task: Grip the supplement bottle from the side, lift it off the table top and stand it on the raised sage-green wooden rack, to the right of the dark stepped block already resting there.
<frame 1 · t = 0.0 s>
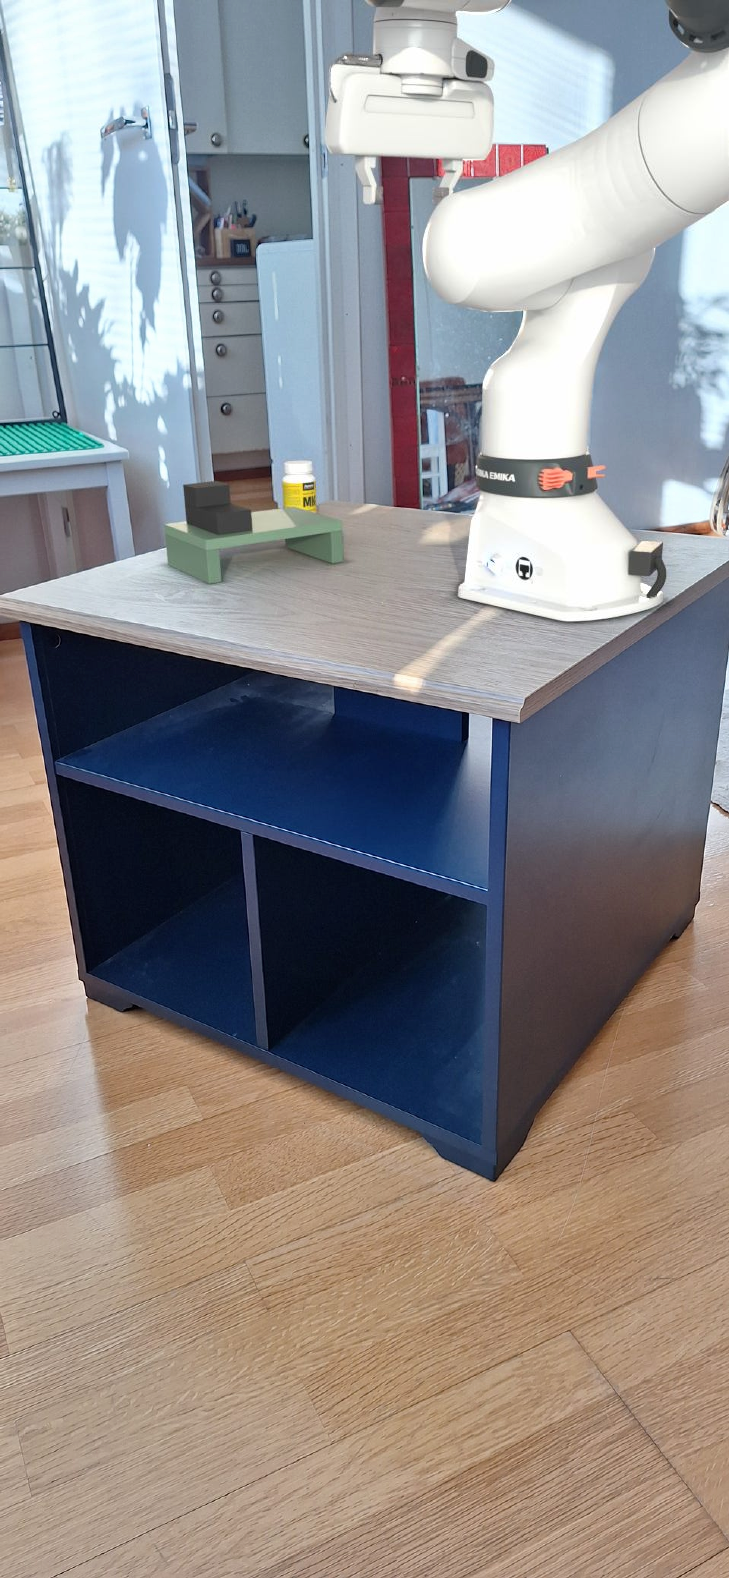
hand: (408, 205, 125), 39 cm above the table, tool pointing down, fingers open, 8 cm apart
supplement bottle: (300, 524, 159), on the table
toy robot: (573, 541, 144), on the table
dark stepped block: (218, 527, 132), point 5 cm above the table, touching rack
rack: (255, 563, 136), on the table
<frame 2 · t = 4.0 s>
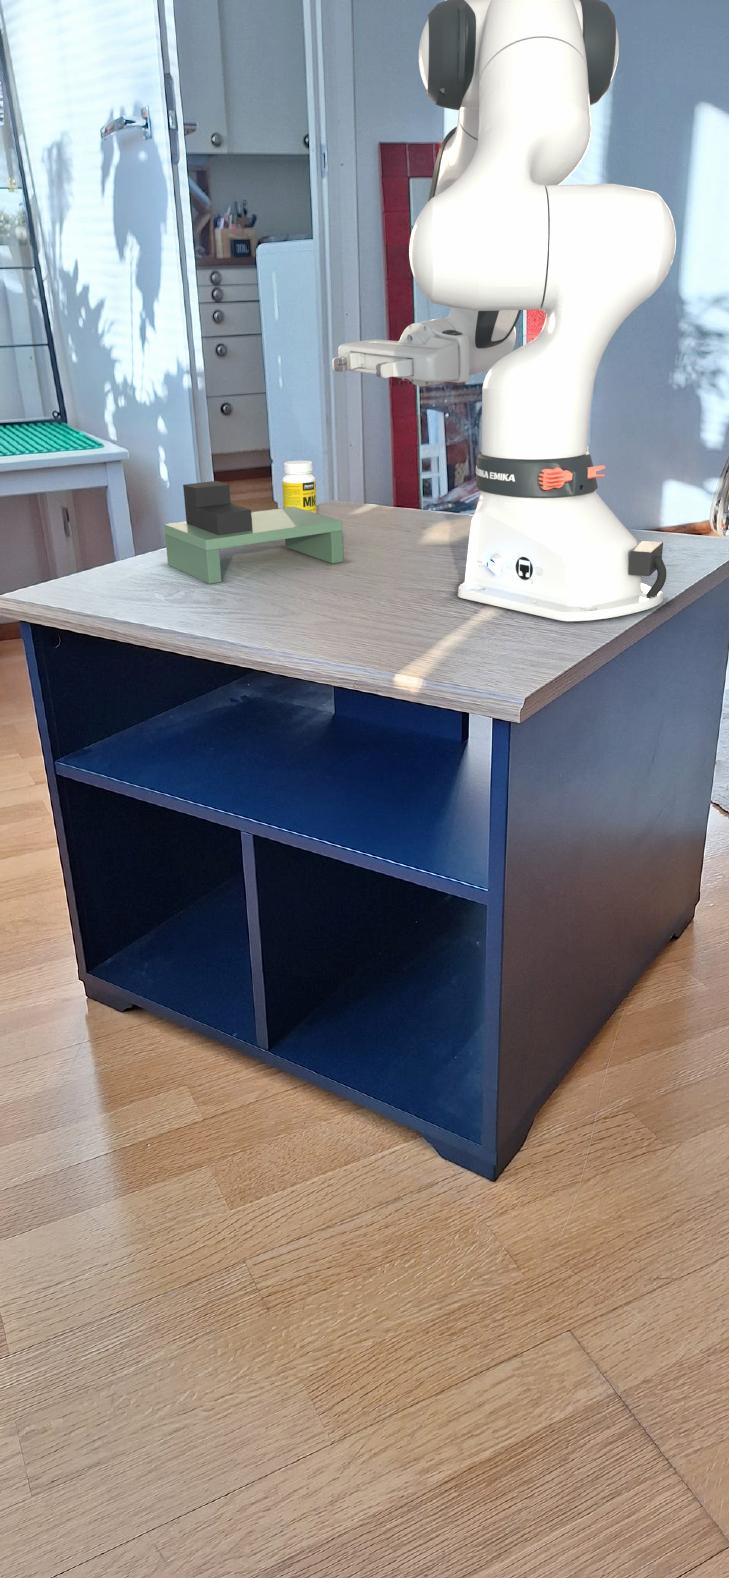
hand: (356, 368, 157), 20 cm above the table, tool horizontal, fingers open, 8 cm apart
nothing on the table moved.
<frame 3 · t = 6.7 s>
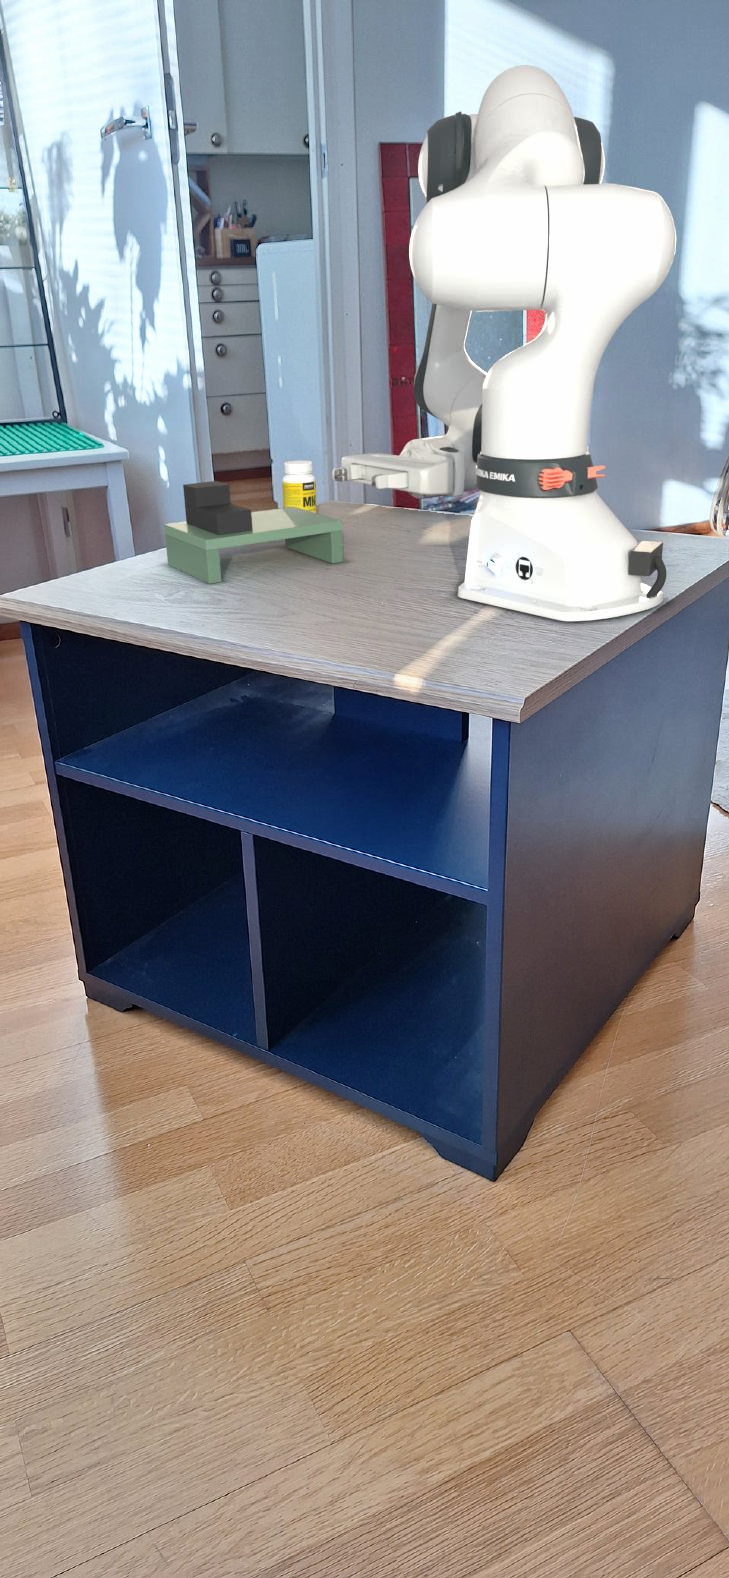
hand: (354, 478, 163), 5 cm above the table, tool horizontal, fingers open, 8 cm apart
nothing on the table moved.
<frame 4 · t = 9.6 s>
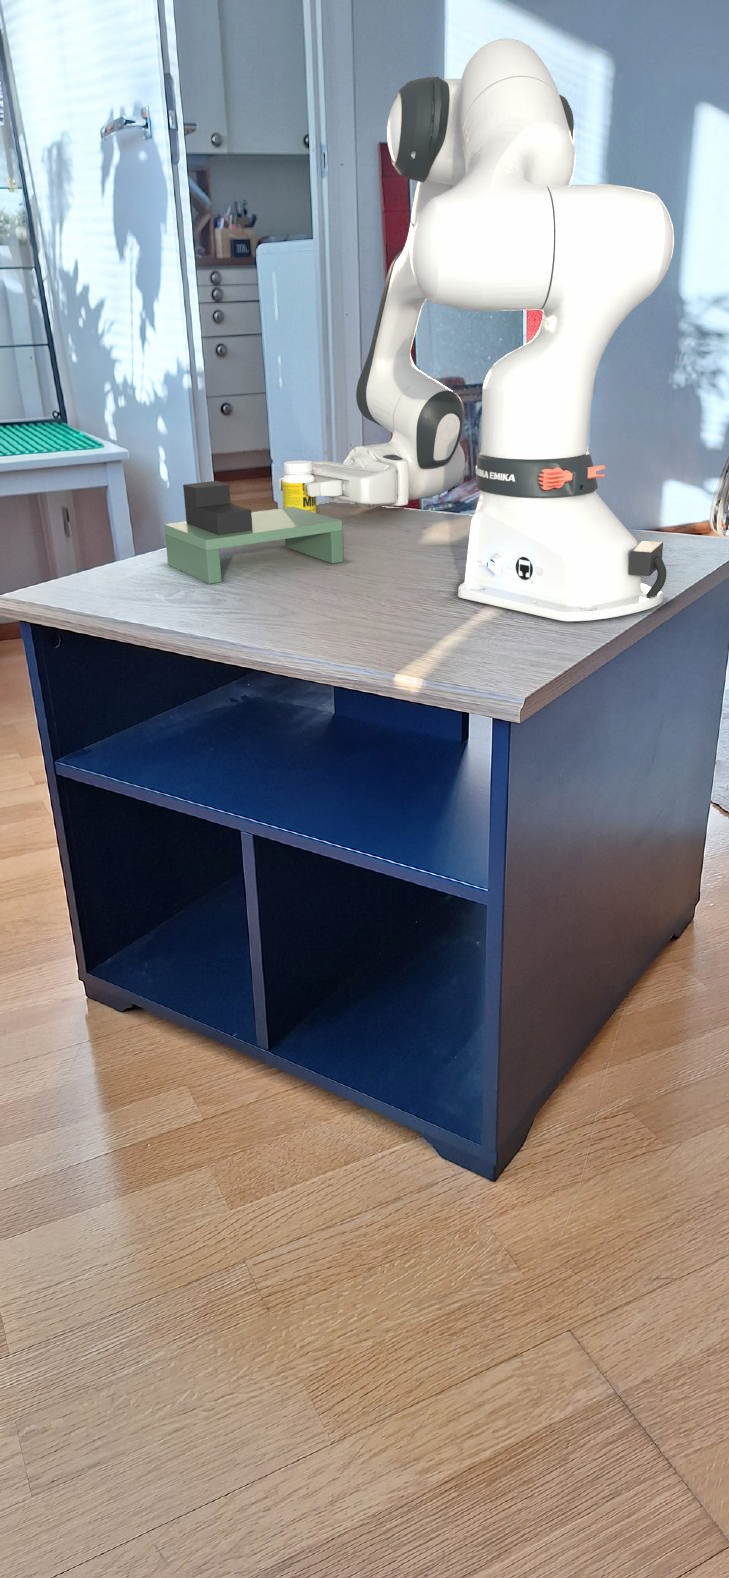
hand: (293, 487, 157), 5 cm above the table, tool horizontal, fingers closed on supplement bottle, 5 cm apart
supplement bottle: (300, 524, 159), on the table, touching gripper
everything else where it was.
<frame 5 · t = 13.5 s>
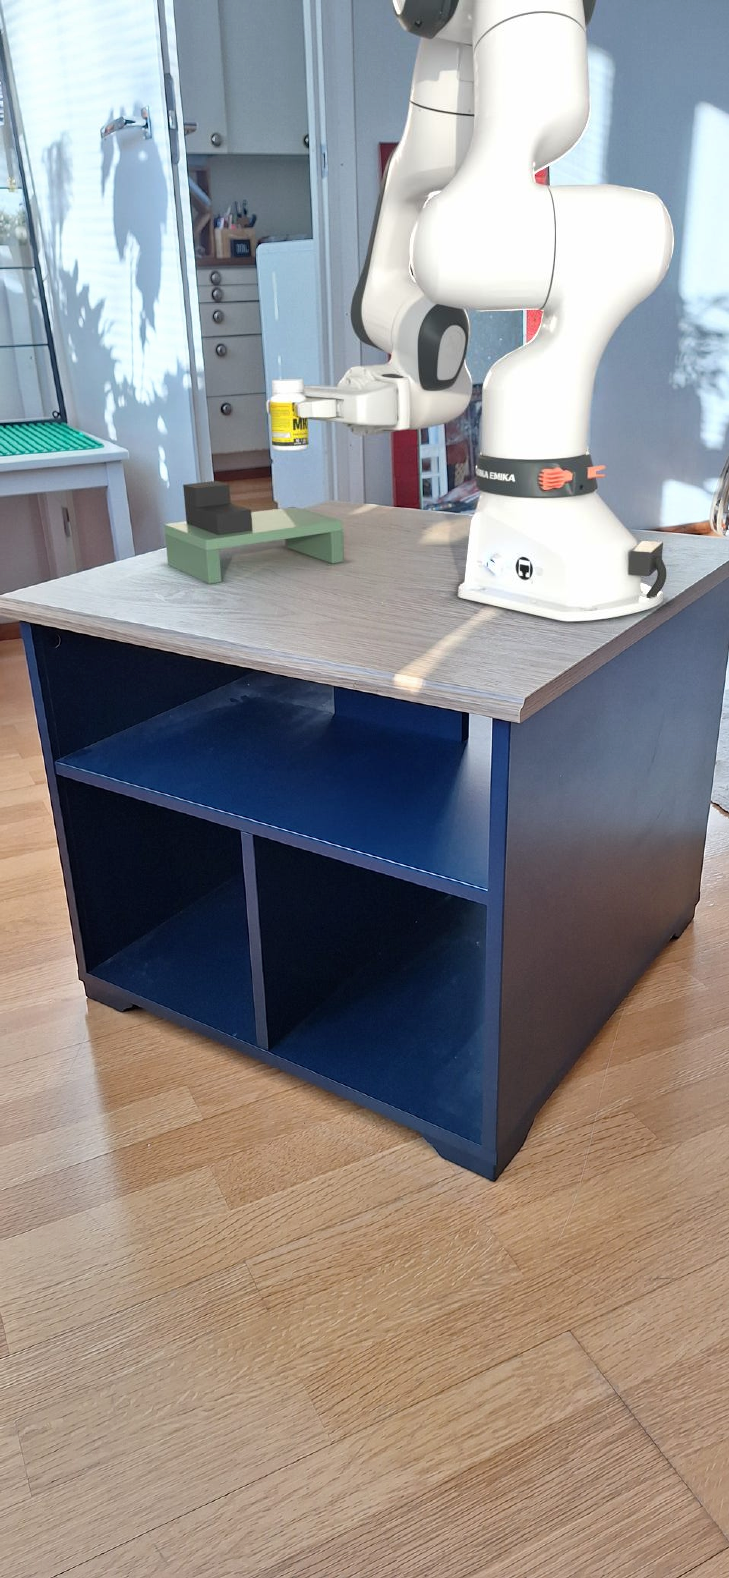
hand: (282, 409, 141), 17 cm above the table, tool horizontal, fingers closed on supplement bottle, 5 cm apart
supplement bottle: (290, 450, 144), point 11 cm above the table, touching gripper
everything else where it was.
when the fingers open (10 cm above the table, at t = 17.4 s): supplement bottle stays where it is, resting on rack.
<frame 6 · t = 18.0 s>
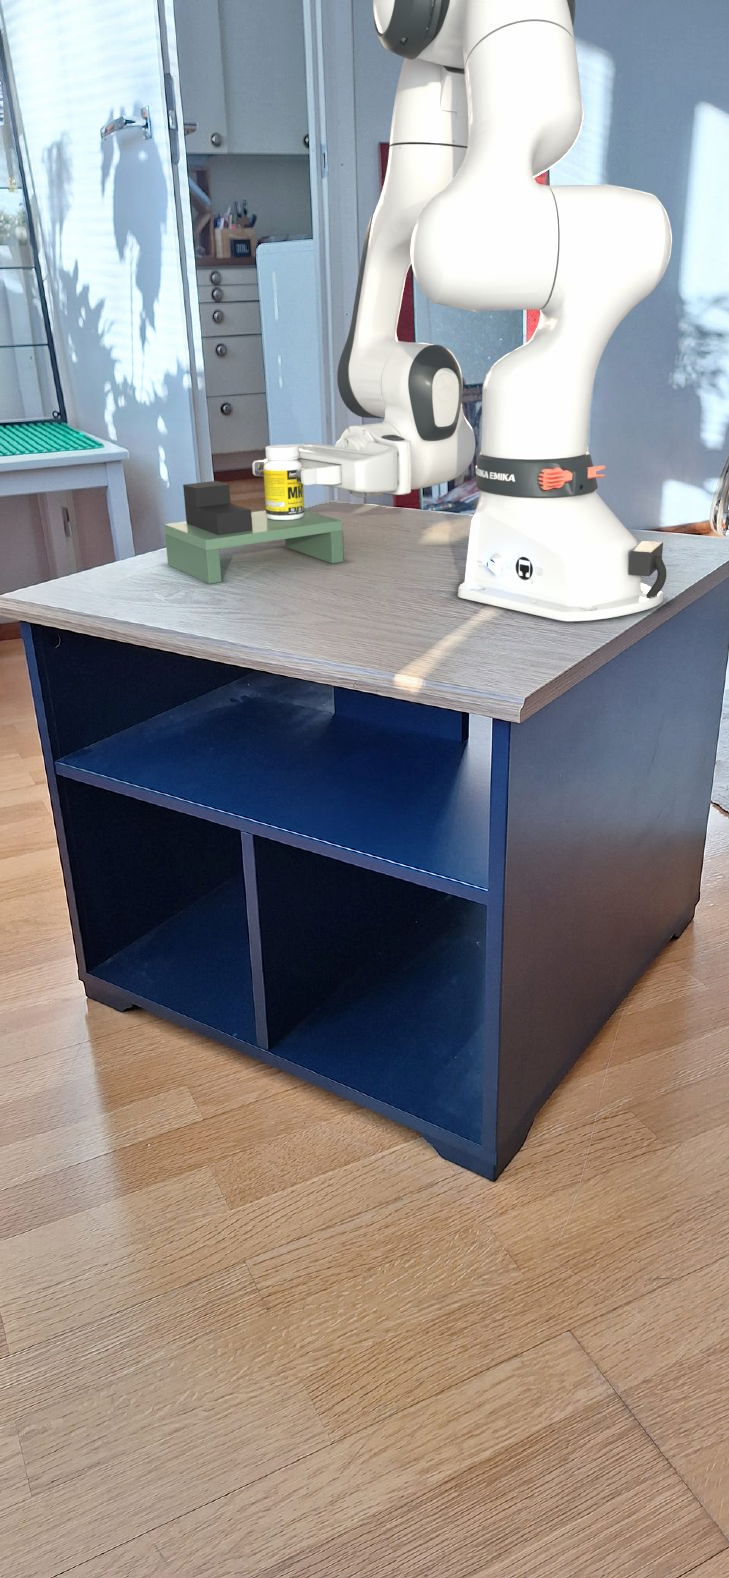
hand: (277, 473, 134), 10 cm above the table, tool horizontal, fingers open, 8 cm apart
supplement bottle: (285, 519, 137), point 5 cm above the table, touching rack
everything else where it was.
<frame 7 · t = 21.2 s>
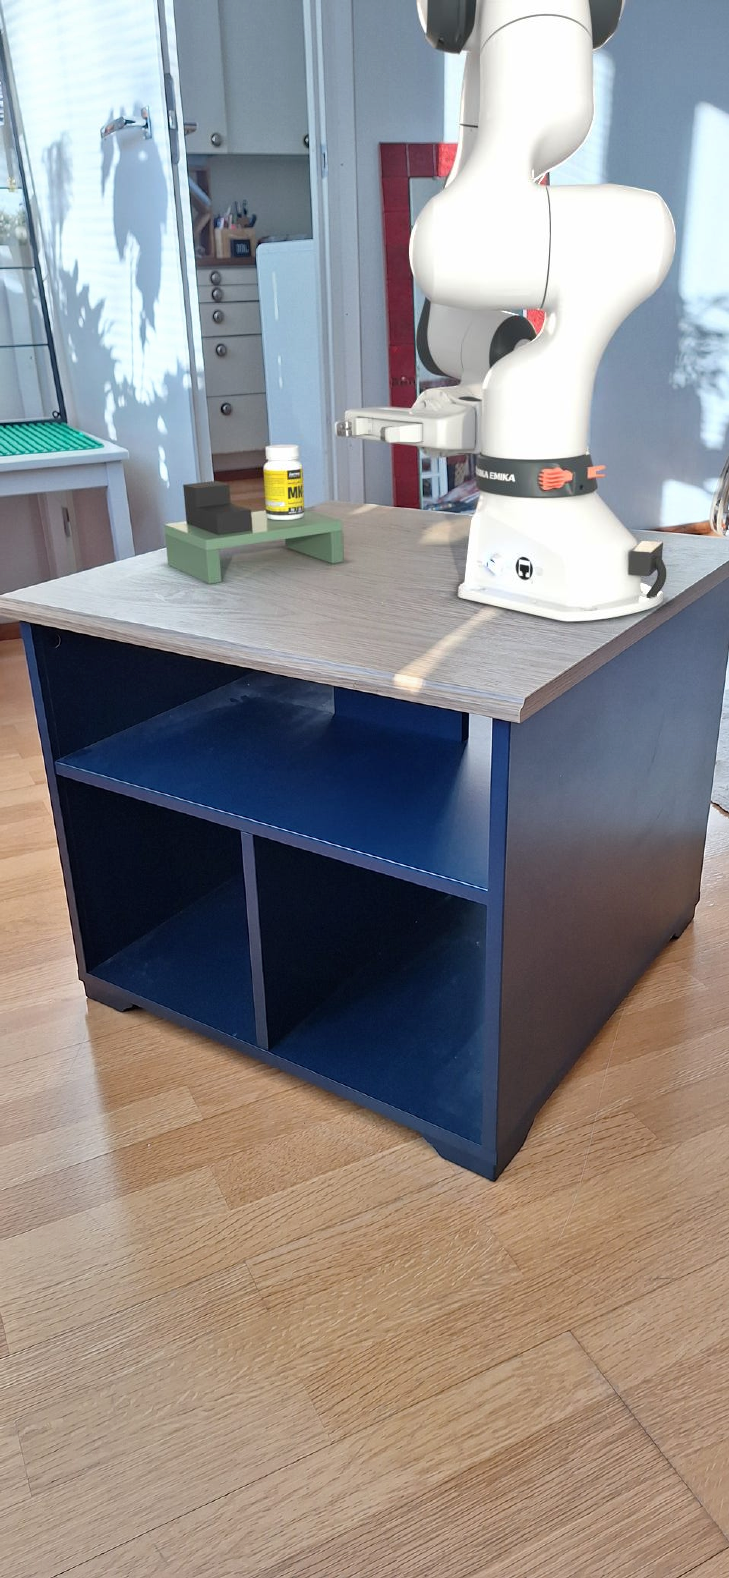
hand: (360, 432, 140), 14 cm above the table, tool horizontal, fingers open, 8 cm apart
nothing on the table moved.
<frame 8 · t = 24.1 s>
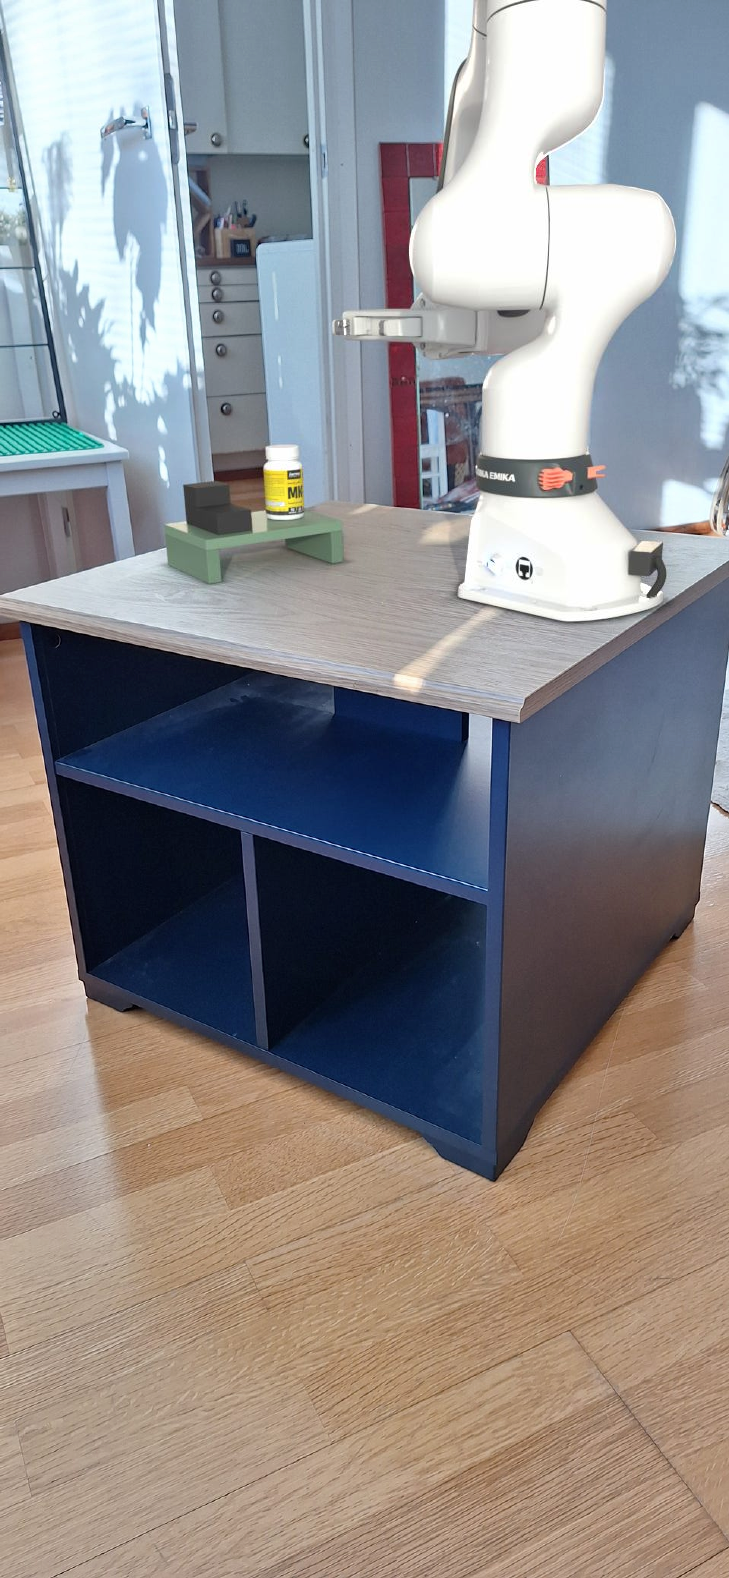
hand: (358, 328, 137), 26 cm above the table, tool horizontal, fingers open, 8 cm apart
nothing on the table moved.
at the end: supplement bottle inside the target area on the rack (0.3 cm from its centre), point 4.8 cm above the rack's base; supplement bottle tilted 0°; the gripper is holding nothing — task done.
